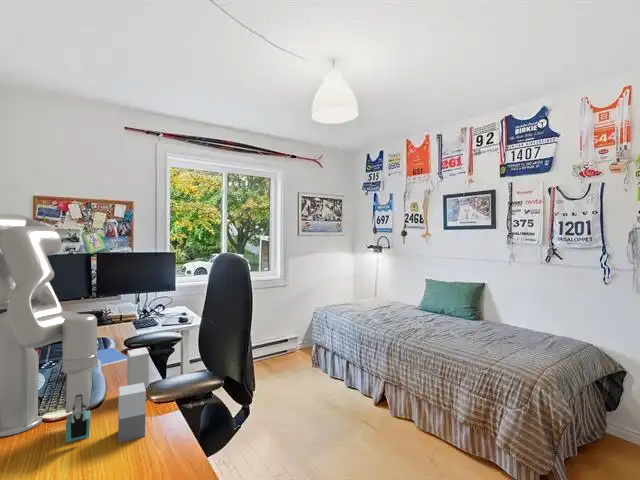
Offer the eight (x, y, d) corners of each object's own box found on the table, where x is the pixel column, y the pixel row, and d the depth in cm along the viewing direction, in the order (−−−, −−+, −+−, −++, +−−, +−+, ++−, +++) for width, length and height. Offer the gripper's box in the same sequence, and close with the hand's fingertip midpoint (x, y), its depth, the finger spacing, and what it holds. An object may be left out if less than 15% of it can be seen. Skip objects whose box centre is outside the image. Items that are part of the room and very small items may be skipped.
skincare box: (149, 399, 112) (150, 353, 112) (128, 404, 108) (129, 356, 108) (146, 389, 119) (147, 346, 119) (125, 393, 115) (126, 349, 115)
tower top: (119, 419, 88) (119, 396, 88) (118, 409, 93) (118, 387, 93) (145, 413, 91) (145, 391, 91) (143, 404, 97) (143, 382, 96)
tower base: (118, 443, 88) (119, 419, 88) (118, 431, 93) (118, 409, 93) (144, 436, 91) (145, 413, 91) (143, 425, 97) (143, 404, 97)
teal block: (65, 443, 88) (65, 423, 88) (67, 433, 92) (67, 414, 92) (89, 437, 90) (89, 418, 90) (89, 428, 95) (90, 410, 95)
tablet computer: (130, 360, 147) (130, 357, 147) (97, 368, 137) (97, 365, 137) (113, 350, 159) (113, 347, 159) (81, 357, 149) (81, 354, 149)
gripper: (65, 355, 97) (65, 416, 97) (58, 376, 82) (58, 449, 82) (97, 350, 100) (97, 410, 101) (96, 370, 86) (96, 439, 86)
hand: (80, 427), depth 91 cm, fingers open, 9 cm apart
